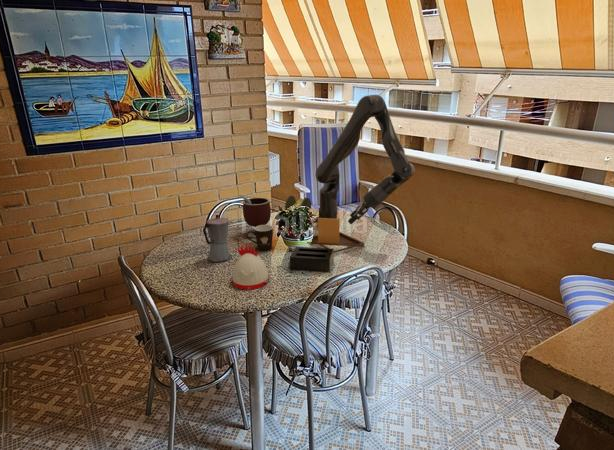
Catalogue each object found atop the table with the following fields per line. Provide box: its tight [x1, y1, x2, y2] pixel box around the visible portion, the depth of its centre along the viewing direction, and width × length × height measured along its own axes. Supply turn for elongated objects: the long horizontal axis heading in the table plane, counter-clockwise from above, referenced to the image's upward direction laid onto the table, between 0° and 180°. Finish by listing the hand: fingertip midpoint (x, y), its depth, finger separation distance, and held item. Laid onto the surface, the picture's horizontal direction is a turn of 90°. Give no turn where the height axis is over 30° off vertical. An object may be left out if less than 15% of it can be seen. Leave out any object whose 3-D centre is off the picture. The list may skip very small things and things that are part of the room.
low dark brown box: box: [289, 246, 335, 273], centre depth 166 cm, size 17×11×7 cm, turn 78°
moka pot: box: [202, 214, 230, 263], centre depth 175 cm, size 10×15×20 cm, turn 155°
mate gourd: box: [239, 194, 272, 239], centre depth 205 cm, size 16×14×20 cm
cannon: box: [284, 195, 312, 210], centre depth 226 cm, size 25×12×11 cm, turn 152°
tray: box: [310, 231, 365, 254], centre depth 191 cm, size 21×17×2 cm
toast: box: [317, 218, 340, 244], centre depth 190 cm, size 10×1×12 cm, turn 78°
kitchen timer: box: [231, 244, 270, 290], centre depth 156 cm, size 14×14×15 cm
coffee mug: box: [245, 224, 274, 252], centre depth 188 cm, size 12×9×10 cm
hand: (350, 219), depth 186 cm, fingers open, 8 cm apart
